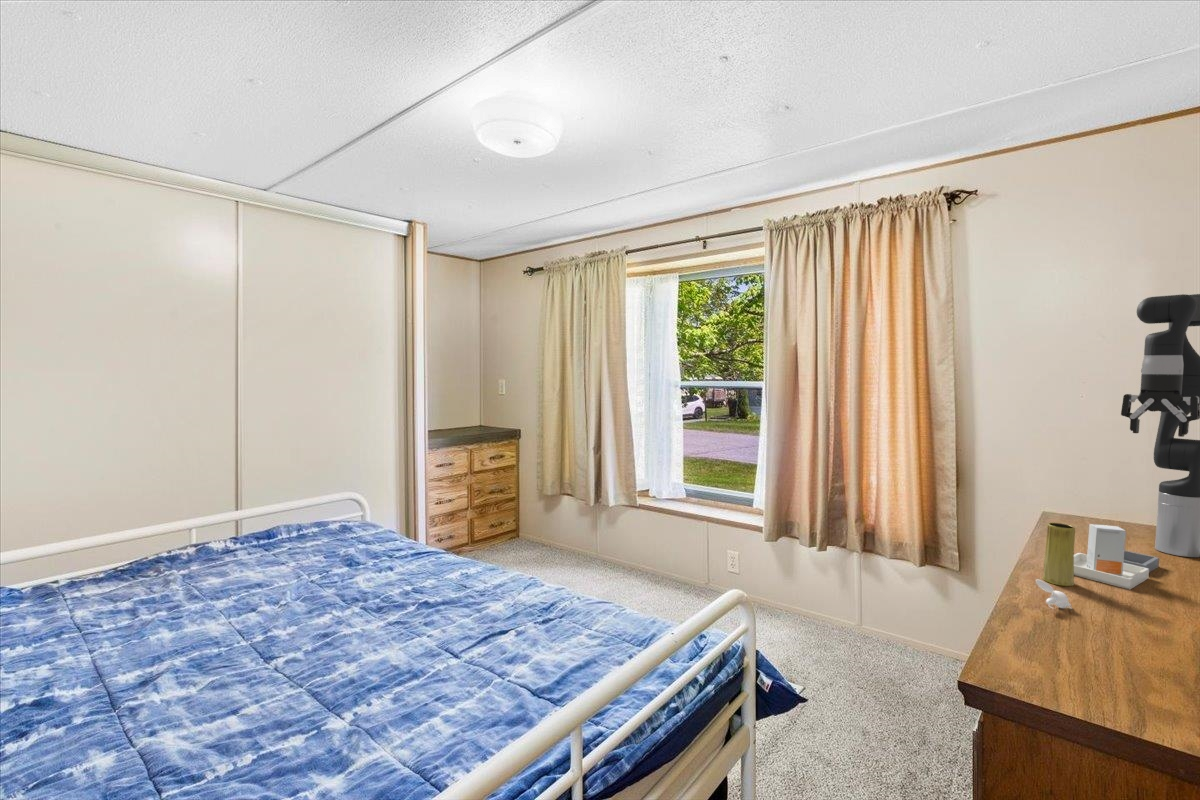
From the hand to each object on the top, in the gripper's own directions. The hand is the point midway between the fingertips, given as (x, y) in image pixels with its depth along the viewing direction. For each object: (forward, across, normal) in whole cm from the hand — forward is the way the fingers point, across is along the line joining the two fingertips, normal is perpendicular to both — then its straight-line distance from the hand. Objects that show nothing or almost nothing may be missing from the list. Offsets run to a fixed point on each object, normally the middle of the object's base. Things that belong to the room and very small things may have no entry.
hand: (1157, 434), depth 142 cm
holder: (+36, +5, +1) cm, 36 cm away
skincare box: (+36, +5, +16) cm, 39 cm away
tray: (+36, +5, +16) cm, 40 cm away
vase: (+36, +9, +32) cm, 49 cm away
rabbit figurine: (+36, +4, +52) cm, 63 cm away
